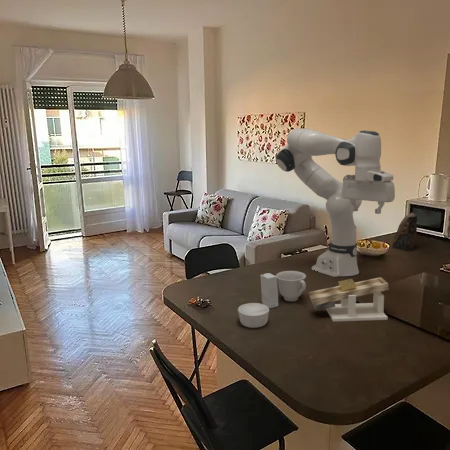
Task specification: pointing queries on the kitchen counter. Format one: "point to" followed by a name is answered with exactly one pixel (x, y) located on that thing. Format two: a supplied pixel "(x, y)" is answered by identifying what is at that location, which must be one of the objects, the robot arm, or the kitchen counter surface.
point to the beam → (346, 292)
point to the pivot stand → (358, 309)
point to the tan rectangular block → (347, 285)
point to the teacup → (291, 284)
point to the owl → (406, 233)
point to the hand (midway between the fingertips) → (366, 212)
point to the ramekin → (253, 314)
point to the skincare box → (269, 290)
